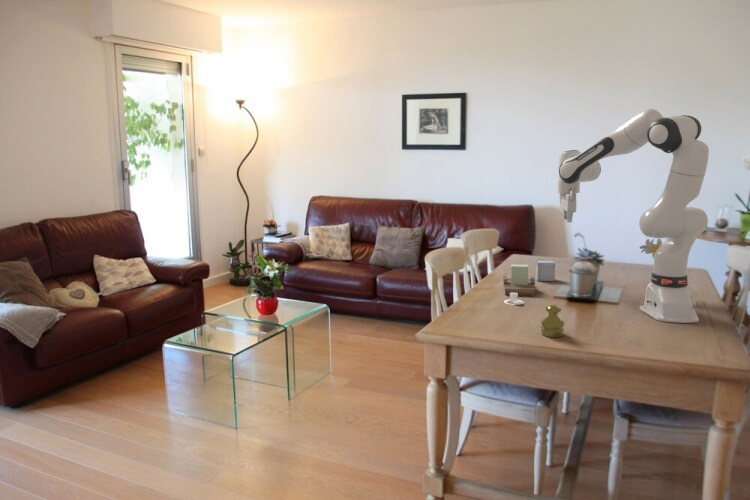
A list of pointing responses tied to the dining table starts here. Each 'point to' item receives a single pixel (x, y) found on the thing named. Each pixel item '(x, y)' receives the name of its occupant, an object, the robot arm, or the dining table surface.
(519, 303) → the teacup and saucer
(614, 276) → the dining table surface
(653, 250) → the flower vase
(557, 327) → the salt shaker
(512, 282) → the green block
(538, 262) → the medicine box
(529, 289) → the stand
